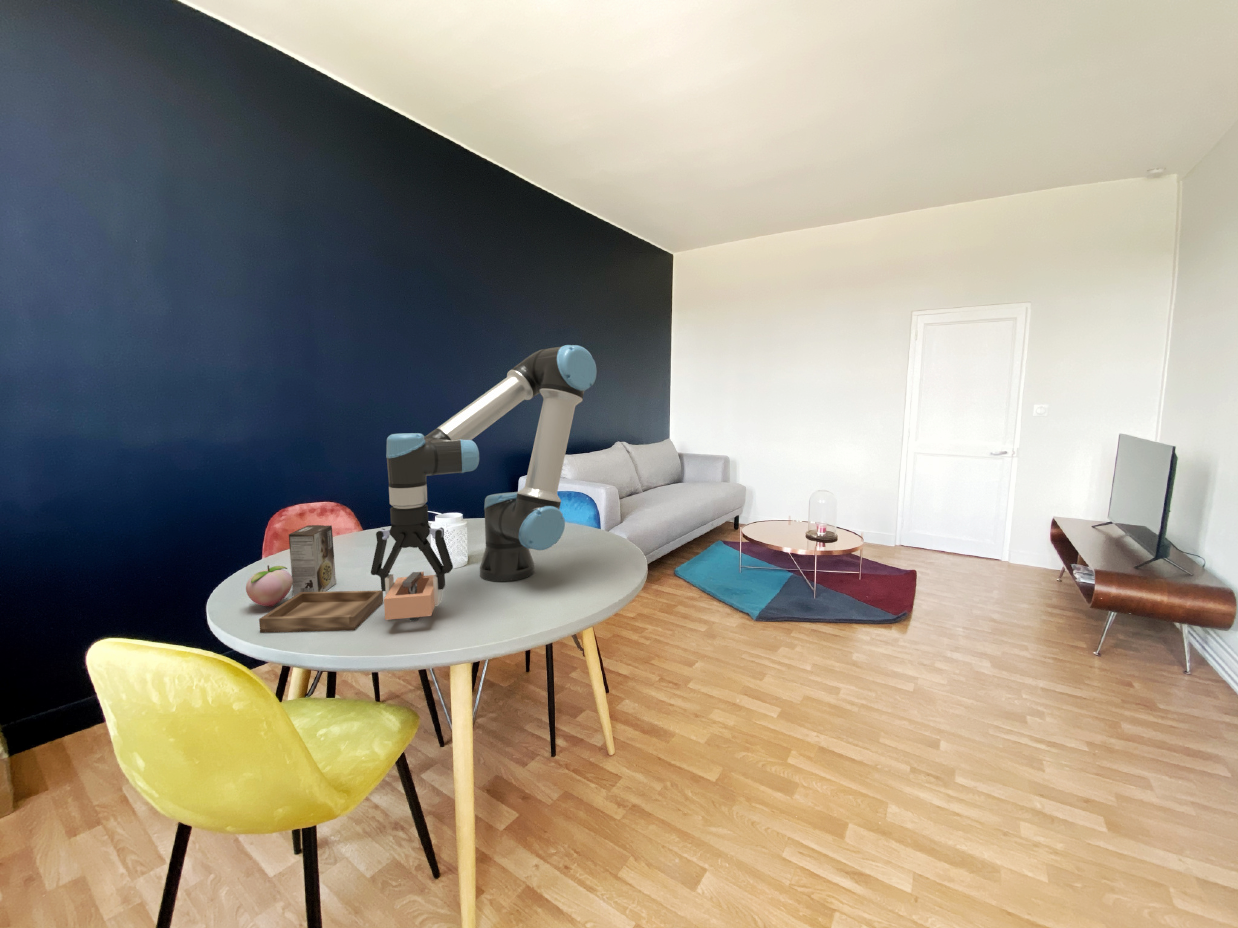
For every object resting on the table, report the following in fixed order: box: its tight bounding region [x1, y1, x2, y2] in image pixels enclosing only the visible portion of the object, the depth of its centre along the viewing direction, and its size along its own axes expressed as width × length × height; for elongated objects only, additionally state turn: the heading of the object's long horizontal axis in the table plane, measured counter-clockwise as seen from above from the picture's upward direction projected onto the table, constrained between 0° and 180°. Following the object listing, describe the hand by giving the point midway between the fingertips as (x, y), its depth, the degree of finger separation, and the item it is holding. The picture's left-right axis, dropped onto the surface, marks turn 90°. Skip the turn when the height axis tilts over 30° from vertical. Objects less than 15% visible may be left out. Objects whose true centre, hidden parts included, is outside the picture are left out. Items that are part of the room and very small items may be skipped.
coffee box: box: [288, 524, 337, 597], centre depth 125 cm, size 9×6×16 cm
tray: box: [258, 589, 384, 634], centre depth 110 cm, size 19×15×3 cm
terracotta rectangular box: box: [383, 571, 436, 621], centre depth 108 cm, size 13×9×6 cm
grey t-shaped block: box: [403, 571, 422, 622], centre depth 109 cm, size 2×6×10 cm, turn 4°
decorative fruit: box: [245, 564, 293, 607], centre depth 115 cm, size 9×8×10 cm
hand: (414, 603), depth 109 cm, fingers closed on terracotta rectangular box, 9 cm apart
